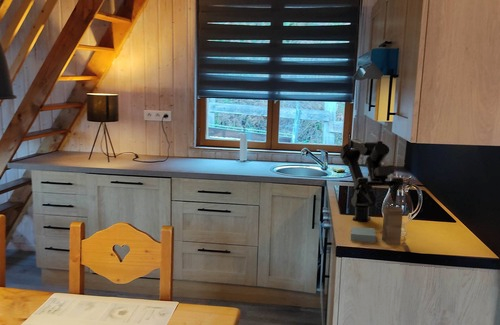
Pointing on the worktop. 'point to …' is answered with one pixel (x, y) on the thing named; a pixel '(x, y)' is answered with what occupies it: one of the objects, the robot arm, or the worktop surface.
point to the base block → (363, 234)
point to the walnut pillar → (392, 225)
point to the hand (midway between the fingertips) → (383, 202)
